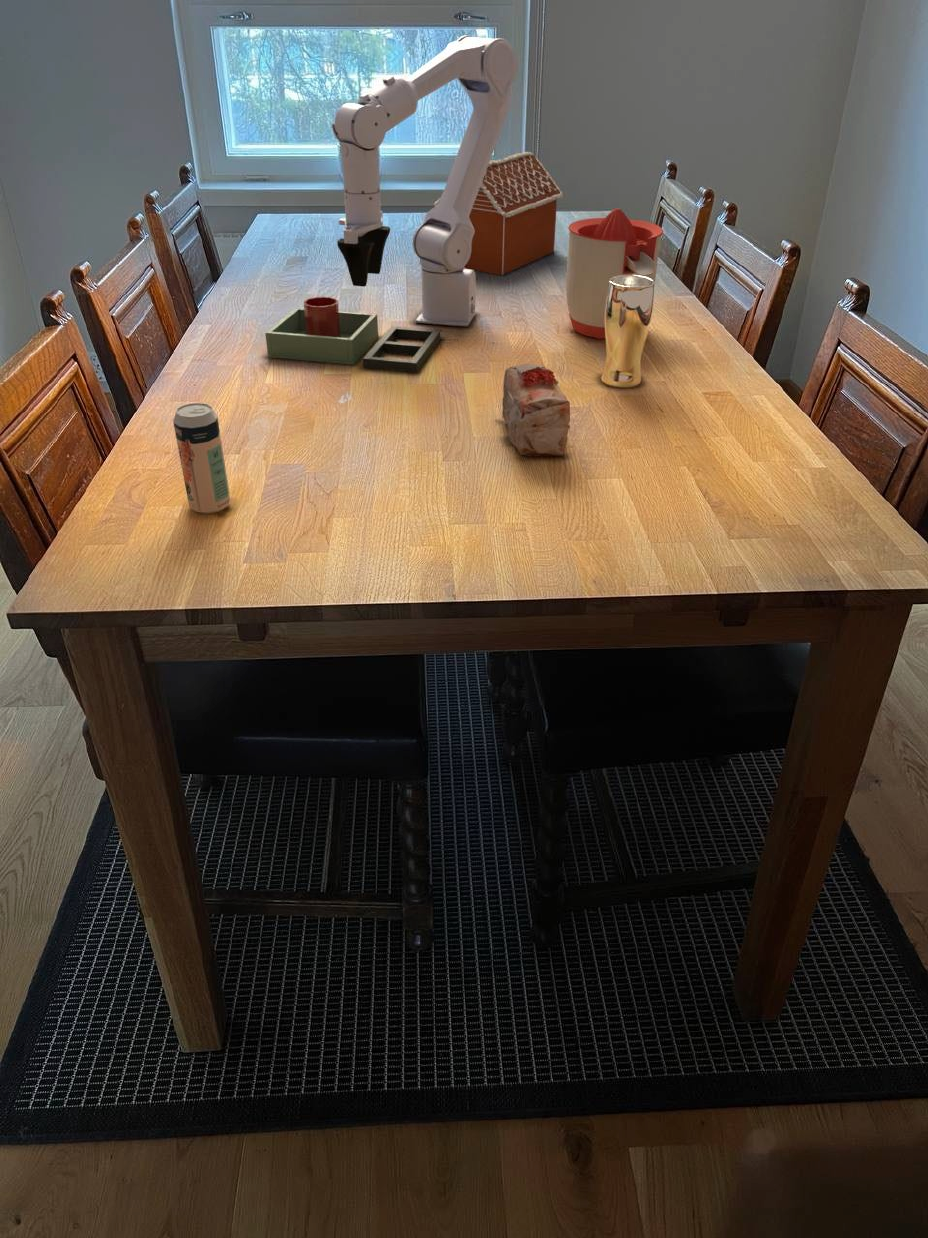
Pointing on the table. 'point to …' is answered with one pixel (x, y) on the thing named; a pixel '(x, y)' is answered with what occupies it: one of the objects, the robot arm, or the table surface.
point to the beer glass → (626, 328)
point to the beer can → (202, 457)
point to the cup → (322, 316)
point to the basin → (322, 338)
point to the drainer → (402, 349)
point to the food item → (535, 411)
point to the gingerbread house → (513, 215)
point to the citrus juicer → (605, 264)
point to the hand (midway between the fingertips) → (366, 279)
